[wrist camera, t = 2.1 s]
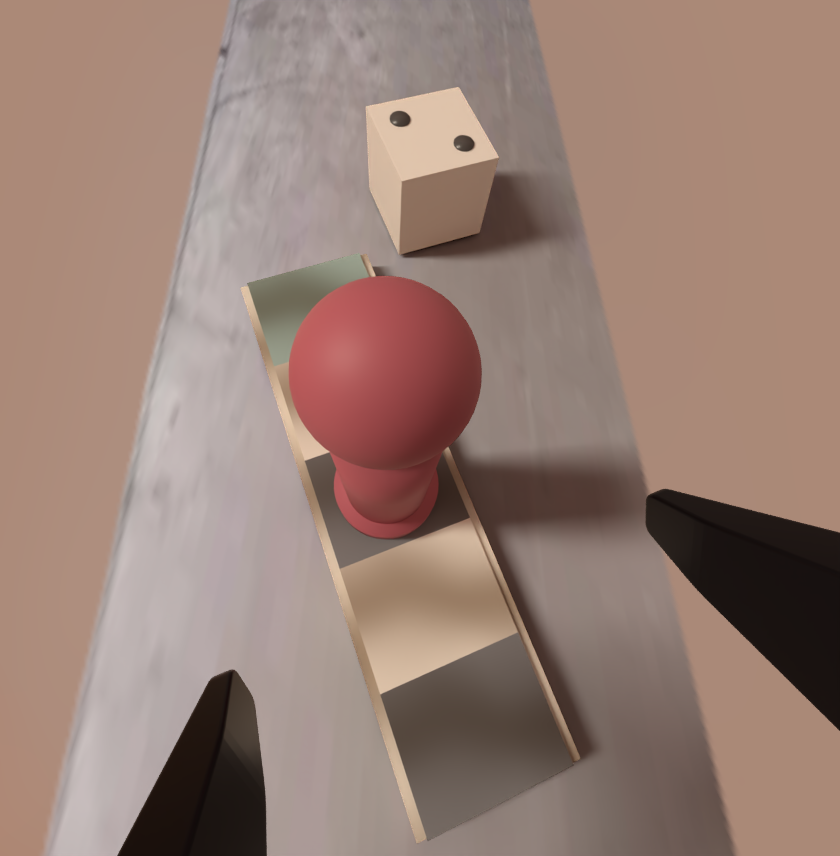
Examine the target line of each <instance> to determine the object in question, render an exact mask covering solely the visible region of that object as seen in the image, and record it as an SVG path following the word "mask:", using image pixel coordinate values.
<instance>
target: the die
mask: <svg viewBox="0 0 840 856" xmlns="http://www.w3.org/2000/svg"><path fill="white" fill-rule="evenodd" d="M366 120H367V143H368V166H369V189H370V191H371V194H372V196H373V198H374V200H375V202H376V205H377V207H378V209H379V211H380V214H381V216H382V218H383V220H384V222H385V225H386V227H387V229H388V231H389V234H390V236H391V238H392V240H393V242H394V245H395V247H396V249H397V251H398V254H399V255H400V254H404V253H408V252H411V251H415V250H418V249H422V248H426V247H429V246H433V245H437V244H440V243H444V242H448V241H451V240H455V239H459V238H462V237H466V236H470V235H473V234H477V233H480V229H481V225H482V221H483V218H484V214H485V210H486V206H487V202H488V198H489V194H490V190H491V187H492V183H493V179H494V175H495V171H496V167H497V163H498V159H499V157H498V155H497V153H496V151H495V150H494V148H493V146H492V144H491V143H490V141H489V139H488V137H487V136H486V134H485V132H484V130H483V129H482V127H481V125H480V123H479V122H478V120H477V118H476V116H475V115H474V113H473V111H472V109H471V108H470V106H469V104H468V102H467V101H466V99H465V97H464V95H463V94H462V92H461V90H460V88H459V87H456V88H452V89H447V90H442V91H437V92H433V93H428V94H423V95H418V96H414V97H409V98H404V99H399V100H395V101H390V102H385V103H380V104H376V105H371V106H366Z"/></svg>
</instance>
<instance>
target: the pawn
mask: <svg viewBox="0 0 840 856" xmlns="http://www.w3.org/2000/svg"><path fill="white" fill-rule="evenodd" d="M481 376H482V368H481V358H480V354H479V350H478V346H477V343H476V340H475V337H474V335H473V332H472V330H471V328H470V327H469V325H468V323H467V321H466V320H465V319H464V317H463V316H462V315H461V313H460V312H459V311H458V309H457V308H456V307H455V306H454V305H453V304H452V303H451V302H450V301H449V300H447V299H446V298H445V297H444V296H443V295H441V294H440V293H438V292H436V291H435V290H433V289H432V288H430V287H428V286H426V285H424V284H422V283H419V282H416V281H413V280H410V279H406V278H402V277H394V276H374V277H367V278H362V279H358V280H355V281H352V282H349V283H347V284H345V285H343V286H341V287H339V288H337V289H335V290H334V291H332V292H331V293H329V294H327V295H326V296H325V297H324V298H323V299H321V300H320V301H319V302H318V303H317V304H316V305H315V306H314V307H313V308H312V309H311V311H310V312H309V313H308V315H307V316H306V318H305V319H304V320H303V322H302V324H301V325H300V327H299V329H298V331H297V333H296V336H295V339H294V342H293V345H292V348H291V353H290V358H289V387H290V392H291V396H292V400H293V403H294V406H295V408H296V411H297V413H298V416H299V417H300V419H301V421H302V422H303V424H304V426H305V427H306V429H307V430H308V431H309V432H310V434H311V435H312V436H313V437H314V439H315V440H316V441H317V442H318V443H319V444H321V445H322V446H323V447H324V448H325V449H326V450H328V451H329V452H330V454H331V457H332V459H333V462H334V464H335V467H336V473H335V478H334V493H335V498H336V502H337V504H338V506H339V509H340V510H341V512H342V514H343V516H344V517H345V519H346V520H347V521H348V523H349V524H350V525H351V526H352V527H353V528H355V529H356V530H357V531H359V532H360V533H362V534H364V535H366V536H369V537H372V538H376V539H395V538H400V537H403V536H405V535H407V534H410V533H411V532H413V531H414V530H416V529H417V528H418V527H419V526H421V525H422V523H423V522H424V521H425V520H426V519H427V517H428V516H429V514H430V512H431V510H432V508H433V506H434V504H435V502H436V499H437V494H438V486H439V483H438V475H437V470H436V467H437V465H438V462H439V459H440V457H441V454H442V452H443V451H444V450H445V449H446V448H447V447H449V446H450V445H451V444H452V443H453V442H454V441H455V440H456V439H457V438H458V437H459V435H460V434H461V433H462V431H463V430H464V428H465V427H466V426H467V424H468V423H469V421H470V419H471V417H472V415H473V413H474V410H475V407H476V404H477V402H478V398H479V394H480V388H481Z"/></svg>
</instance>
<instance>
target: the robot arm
mask: <svg viewBox="0 0 840 856" xmlns="http://www.w3.org/2000/svg"><path fill="white" fill-rule="evenodd" d="M646 527H647V530H648V532H649V533H650V535H651V536H652V537H653V538H654V540H655V541H656V542H657V543H658V544H659V545H660V547H661V548H662V549H663V550H664V551H665V553H666V554H667V555H668V556H669V557H670V559H671V560H672V561H673V562H674V563H675V565H676V566H677V567H678V568H679V569H680V570H681V572H682V573H683V574H684V575H685V576H686V578H687V579H688V580H689V581H690V582H691V583H692V585H693V586H694V587H695V588H696V589H697V590H698V591H699V592H700V593H701V594H702V595H703V596H704V597H705V598H706V599H707V600H708V601H709V602H710V603H711V604H712V605H713V606H714V607H715V608H716V609H717V610H718V611H719V612H720V613H721V614H722V615H723V616H724V617H725V618H726V619H727V620H728V621H729V622H730V623H731V624H732V625H733V626H734V627H735V628H736V629H737V630H738V631H739V632H740V633H741V634H742V635H743V636H744V637H745V638H746V639H747V640H748V641H749V642H750V643H751V644H752V645H753V646H755V648H756V649H757V650H758V651H759V652H760V653H761V654H762V655H763V656H765V658H766V659H767V660H769V661H770V662H771V663H772V665H774V666H775V667H776V668H777V669H778V670H779V671H780V672H781V673H782V674H783V675H784V676H785V677H786V678H787V679H788V680H789V681H790V682H791V683H792V684H793V685H794V686H795V687H796V688H797V689H798V690H799V691H800V692H801V693H802V694H803V695H804V696H805V697H806V698H807V699H808V700H809V701H810V702H811V703H812V704H813V705H814V706H815V707H816V708H817V709H818V710H819V711H820V712H821V713H822V714H823V715H825V717H826V718H827V719H828V720H829V721H830V722H831V723H832V724H833V725H834V726H835V727H836V728H837V729H838V730H839V731H840V533H839V532H835V531H831V530H827V529H824V528H820V527H815V526H812V525H807V524H804V523H800V522H796V521H792V520H788V519H784V518H780V517H776V516H772V515H768V514H764V513H760V512H756V511H752V510H748V509H744V508H740V507H736V506H732V505H729V504H724V503H720V502H717V501H713V500H709V499H705V498H701V497H697V496H693V495H689V494H685V493H681V492H677V491H673V490H669V489H662V490H659V491H657V492H654V493H652V494H650V495H648V497H647V499H646ZM117 856H267V843H266V796H265V785H264V776H263V767H262V759H261V751H260V743H259V734H258V726H257V718H256V709H255V704H254V700H253V697H252V695H251V693H250V691H249V690H248V688H247V687H246V685H245V683H244V682H243V680H242V679H241V677H240V676H239V674H238V673H237V672H236V671H235V670H229V671H226V672H224V673H221V674H219V675H217V676H214V677H213V678H212V679H211V680H210V681H209V682H208V684H207V686H206V688H205V690H204V692H203V694H202V695H201V697H200V699H199V701H198V703H197V705H196V707H195V709H194V711H193V713H192V714H191V716H190V718H189V720H188V722H187V724H186V726H185V728H184V730H183V732H182V734H181V735H180V737H179V739H178V741H177V743H176V745H175V747H174V749H173V751H172V753H171V754H170V756H169V758H168V760H167V762H166V764H165V766H164V768H163V770H162V772H161V773H160V775H159V777H158V779H157V781H156V783H155V785H154V787H153V789H152V791H151V792H150V794H149V796H148V798H147V800H146V802H145V804H144V806H143V808H142V810H141V812H140V813H139V815H138V817H137V819H136V821H135V823H134V825H133V827H132V829H131V831H130V832H129V834H128V836H127V838H126V840H125V842H124V844H123V846H122V848H121V850H120V851H119V853H118V855H117Z"/></svg>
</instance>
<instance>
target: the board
mask: <svg viewBox="0 0 840 856" xmlns="http://www.w3.org/2000/svg"><path fill="white" fill-rule="evenodd" d="M374 276H376V275H375V273H374V270H373V268H372V266H371V263H370V261H369V259H368V256H367V254H364V255H360V254H359V253H358V254H354V255H350V256H347V257H343V258H339V259H336V260H332V261H328V262H324V263H321V264H317V265H313V266H310V267H306V268H302V269H298V270H295V271H291V272H287V273H284V274H280V275H276V276H272V277H269V278H265V279H261V280H257V281H254V282H250V283H247V284H248V286H245V287H242V288H241V291H242V294H243V297H244V300H245V303H246V306H247V310H248V313H249V316H250V319H251V322H252V325H253V329H254V332H255V335H256V338H257V341H258V344H259V347H260V351H261V354H262V357H263V360H264V363H265V366H266V369H267V373H268V376H269V379H270V382H271V385H272V388H273V392H274V395H275V398H276V401H277V404H278V407H279V410H280V414H281V417H282V420H283V423H284V426H285V429H286V433H287V436H288V439H289V442H290V445H291V448H292V451H293V455H294V458H295V461H296V464H297V467H298V470H299V474H300V477H301V480H302V483H303V486H304V489H305V492H306V496H307V499H308V502H309V505H310V508H311V511H312V515H313V518H314V521H315V524H316V527H317V530H318V533H319V537H320V540H321V543H322V546H323V549H324V552H325V556H326V559H327V562H328V565H329V568H330V571H331V574H332V578H333V581H334V584H335V587H336V590H337V593H338V596H339V600H340V603H341V606H342V609H343V612H344V615H345V619H346V622H347V625H348V628H349V631H350V634H351V637H352V641H353V644H354V647H355V650H356V653H357V656H358V660H359V663H360V666H361V669H362V672H363V675H364V678H365V682H366V685H367V688H368V691H369V694H370V697H371V701H372V704H373V707H374V710H375V713H376V716H377V719H378V723H379V726H380V729H381V732H382V735H383V738H384V742H385V745H386V748H387V751H388V754H389V757H390V760H391V764H392V767H393V770H394V773H395V776H396V779H397V783H398V786H399V789H400V792H401V795H402V798H403V801H404V805H405V808H406V811H407V814H408V817H409V820H410V823H411V827H412V830H413V833H414V836H415V839H416V842H417V843H419V842H421V841H423V840H425V839H427V841H429V840H431V839H433V838H435V837H437V836H439V835H440V834H442V833H444V832H446V831H448V830H450V829H452V828H454V827H456V826H458V825H460V824H462V823H463V822H465V821H467V820H469V819H471V818H473V817H475V816H477V815H479V814H481V813H483V812H485V811H487V810H488V809H490V808H492V807H494V806H496V805H498V804H500V803H502V802H504V801H506V800H508V799H510V798H511V797H513V796H515V795H517V794H519V793H521V792H523V791H525V790H527V789H529V788H531V787H533V786H535V785H536V784H538V783H540V782H542V781H544V780H546V779H548V778H550V777H552V776H554V775H556V774H558V773H560V772H561V771H563V770H565V769H567V768H569V767H571V766H573V762H575V761H577V760H579V759H581V758H580V756H579V753H578V751H577V749H576V746H575V744H574V742H573V739H572V737H571V734H570V732H569V730H568V727H567V725H566V723H565V720H564V718H563V716H562V713H561V711H560V709H559V706H558V704H557V702H556V699H555V697H554V694H553V692H552V690H551V687H550V685H549V683H548V680H547V678H546V676H545V673H544V671H543V669H542V666H541V664H540V661H539V659H538V657H537V654H536V652H535V650H534V647H533V645H532V643H531V640H530V638H529V636H528V633H527V631H526V628H525V626H524V624H523V621H522V619H521V617H520V614H519V612H518V610H517V607H516V605H515V603H514V600H513V598H512V596H511V593H510V591H509V588H508V586H507V584H506V581H505V579H504V577H503V574H502V572H501V570H500V567H499V565H498V563H497V560H496V558H495V555H494V553H493V551H492V548H491V546H490V544H489V541H488V539H487V537H486V534H485V532H484V530H483V527H482V525H481V522H480V520H479V518H478V515H477V513H476V511H475V508H474V506H473V504H472V501H471V499H470V497H469V494H468V492H467V490H466V487H465V485H464V482H463V480H462V478H461V475H460V473H459V471H458V468H457V466H456V464H455V461H454V459H453V457H452V454H451V452H450V449H449V447H447V448H446V449H445V450H444V451H443V452H442V454H441V457H440V459H439V462H438V465H437V467H436V470H437V475H438V483H439V486H438V494H437V499H436V502H435V504H434V506H433V508H432V510H431V512H430V514H429V516H428V517H427V519H426V520H425V521H424V522H423V523H422V525H421V526H419V527H418V528H417V529H416V530H414V531H413V532H411V533H410V534H407V535H405V536H403V537H400V538H395V539H376V538H372V537H369V536H366V535H364V534H362V533H360V532H359V531H357V530H356V529H355V528H353V527H352V526H351V525H350V524H349V523H348V521H347V520H346V519H345V517H344V516H343V514H342V512H341V510H340V509H339V506H338V504H337V502H336V498H335V493H334V478H335V473H336V467H335V464H334V462H333V459H332V457H331V454H330V452H329V451H328V450H326V449H325V448H324V447H323V446H322V445H321V444H319V443H318V442H317V441H316V440H315V439H314V437H313V436H312V435H311V434H310V432H309V431H308V430H307V429H306V427H305V426H304V424H303V422H302V421H301V419H300V417H299V416H298V413H297V411H296V408H295V406H294V403H293V400H292V396H291V392H290V387H289V358H290V353H291V348H292V345H293V342H294V339H295V336H296V333H297V331H298V329H299V327H300V325H301V324H302V322H303V320H304V319H305V318H306V316H307V315H308V313H309V312H310V311H311V309H312V308H313V307H314V306H315V305H316V304H317V303H318V302H319V301H320V300H321V299H323V298H324V297H325V296H326V295H327V294H329V293H331V292H332V291H334V290H335V289H337V288H339V287H341V286H343V285H345V284H347V283H349V282H352V281H355V280H358V279H362V278H367V277H374Z"/></svg>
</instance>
